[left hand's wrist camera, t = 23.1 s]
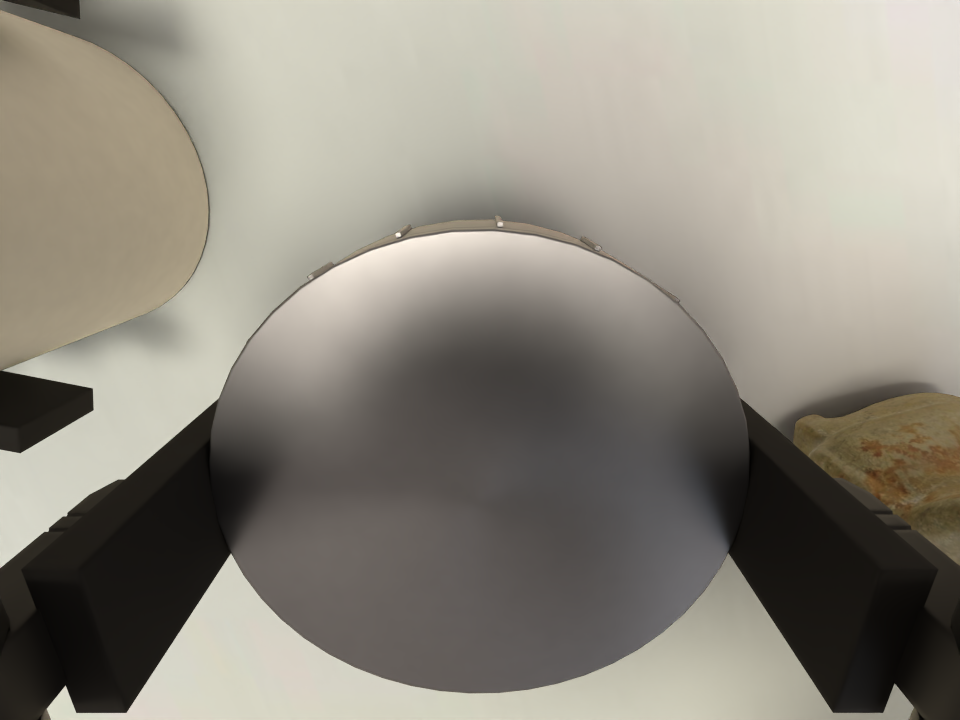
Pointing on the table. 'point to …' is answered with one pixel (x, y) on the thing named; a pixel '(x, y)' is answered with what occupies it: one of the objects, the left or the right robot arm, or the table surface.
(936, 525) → the sculpture
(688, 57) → the table surface
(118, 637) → the left robot arm
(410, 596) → the lid
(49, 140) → the jar
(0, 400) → the right robot arm
